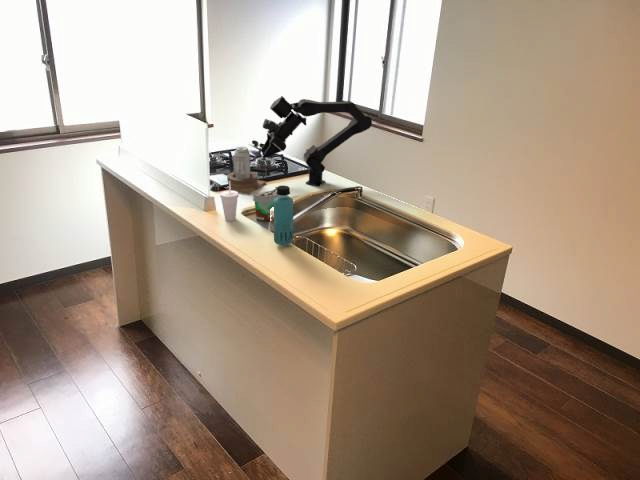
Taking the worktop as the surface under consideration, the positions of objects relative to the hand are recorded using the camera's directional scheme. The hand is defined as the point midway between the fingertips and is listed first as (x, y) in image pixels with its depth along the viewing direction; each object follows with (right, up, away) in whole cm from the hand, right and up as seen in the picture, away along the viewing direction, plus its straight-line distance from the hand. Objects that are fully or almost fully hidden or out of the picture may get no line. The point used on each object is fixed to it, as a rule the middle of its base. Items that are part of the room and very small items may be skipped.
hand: (262, 154), depth 215 cm
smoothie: (-9, -27, -26) cm, 39 cm away
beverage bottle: (+11, -37, -44) cm, 58 cm away
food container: (+6, -27, -25) cm, 37 cm away
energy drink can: (-9, -12, +4) cm, 15 cm away
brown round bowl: (-9, -12, +5) cm, 16 cm away
